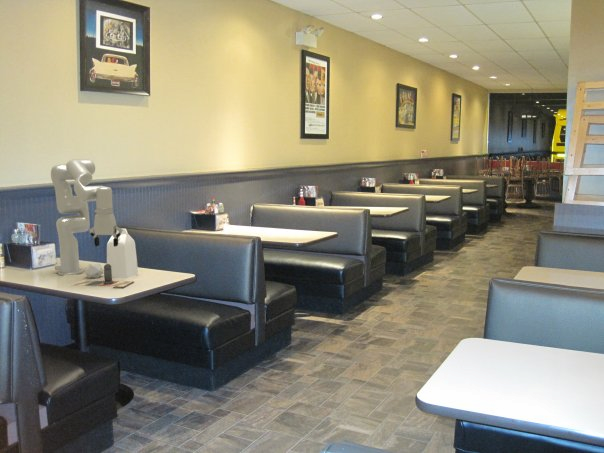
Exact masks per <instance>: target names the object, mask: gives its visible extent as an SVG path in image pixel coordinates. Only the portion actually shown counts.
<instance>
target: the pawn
mask: <svg viewBox="0 0 604 453" xmlns="http://www.w3.org/2000/svg"><path fill="white" fill-rule="evenodd" d="M103 276H104V280H102V281H103V283H104V284H105V285H109V284H113V283H114V282H113V281H114V280H113V277H112V269H111V265H110V264H107V263H105V264H104V266H103ZM113 285H114V284H113Z"/></svg>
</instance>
